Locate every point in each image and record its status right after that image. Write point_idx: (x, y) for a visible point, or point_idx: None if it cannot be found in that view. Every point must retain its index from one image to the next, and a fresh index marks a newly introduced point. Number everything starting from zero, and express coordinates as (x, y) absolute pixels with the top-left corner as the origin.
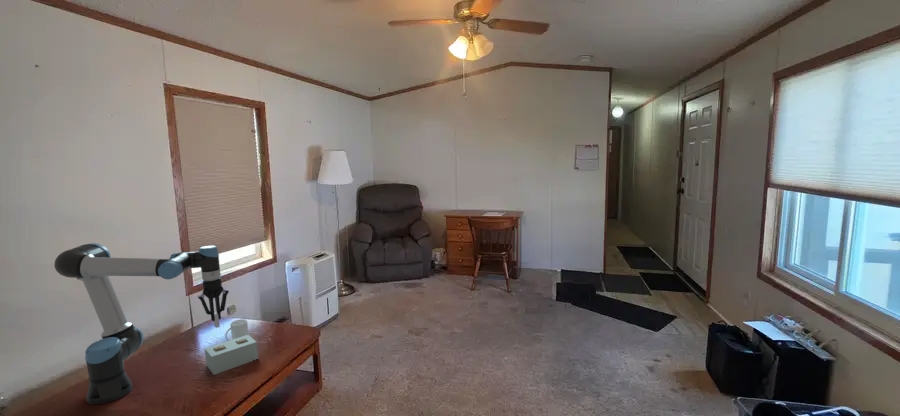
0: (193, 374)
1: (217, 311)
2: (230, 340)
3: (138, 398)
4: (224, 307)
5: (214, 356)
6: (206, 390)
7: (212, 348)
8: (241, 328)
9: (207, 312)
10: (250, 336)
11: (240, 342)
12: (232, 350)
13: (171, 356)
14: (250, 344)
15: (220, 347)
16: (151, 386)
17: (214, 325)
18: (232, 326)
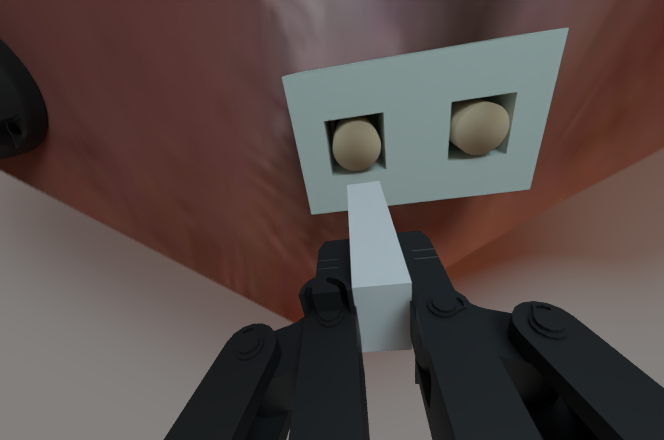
0: (250, 125)
1: (418, 374)
2: (437, 55)
3: (106, 184)
4: (578, 430)
5: (323, 211)
6: (294, 257)
7: (322, 114)
8: None
9: (255, 428)
10: (555, 79)
11: (466, 152)
12: (403, 202)
13: None
14: (493, 192)
15: (361, 145)
16: (114, 123)
17: (347, 193)
18: None
